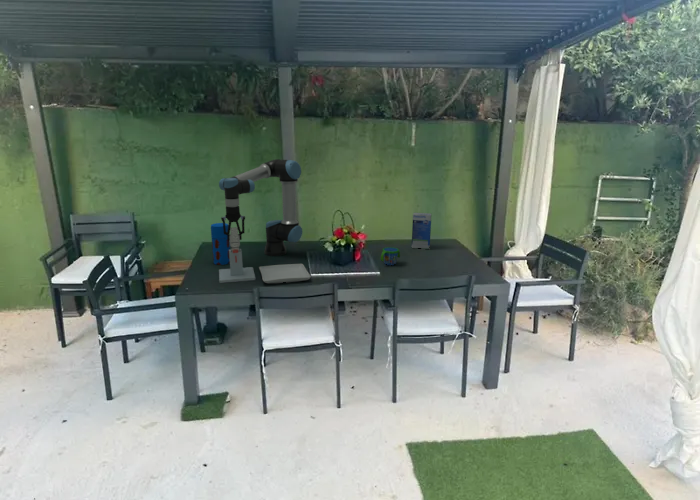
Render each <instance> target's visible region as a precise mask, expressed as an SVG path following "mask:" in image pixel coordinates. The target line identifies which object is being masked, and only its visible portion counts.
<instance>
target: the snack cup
mask: <svg viewBox="0 0 700 500" xmlns="http://www.w3.org/2000/svg"><path fill="white" fill-rule="evenodd" d="M400 257H401V252H400V249H399V248H397V247H393V246H389V247H383V248H382V252H381V255H380V261H382V262H384V264H385V265H386V264H387V265H386V266H391V265H392V266H395V265H394V264H396V265H397V260H398V258H400Z"/></svg>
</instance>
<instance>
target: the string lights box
mask: <svg viewBox="0 0 700 500" xmlns="http://www.w3.org/2000/svg"><path fill="white" fill-rule="evenodd" d="M411 227H412V229H411V231H412V232H411V247H412V248H429V247H430V246H431V231H432V230H431V229H432V213H429V212H427V213H426V212H413V213H412V226H411ZM429 249H430V248H429Z"/></svg>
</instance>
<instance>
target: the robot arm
mask: <svg viewBox="0 0 700 500" xmlns="http://www.w3.org/2000/svg"><path fill="white" fill-rule="evenodd" d="M301 175H302V168H301V165H300V163H298V162H297V160H293V159H292V160H291V159H279V158H277V159H273V160H269V161H266V162H264V163H261V164H259V166H257V167H255V168H252V169H250V170H247V171H245V172H243V173H242V172H241V173H239V174H237V175H234V176H231V177H224V178H221V179H219V182H218V187H219V189H220V190H221V191H224V198H225V199H224V200H225V215H224V216H221V217H220V219H221V221H222V223H223V230H224V234H225V235H227V239H228V241H230V247H231V232H230V228H232V227H231V226H232V223H235V224H236V227H237V228H238V242H239V247H240V246H241V241H242V239H243V238H242V235H243V234H245V220H246V216H245V215H241V212H240V211H241V210H240V196H239V195H243V194H249V193H252V192H254V191H255V187H256V184H255V182H257V181H260V180H262V179H269V178H279V182H280V184H281V192H282V196H281V197H282V215H283V216H282V218H283V219H274V220H273V219H272V220H269V221H267V222H266V223H265V237H266V238H265V239H266V244H265V247H264V252H263V253H264V255H266V256H268V257H269V256H270V257H278V256H283V255H286V254H287V247H286V245H285V242H289V243H297V242H299V241H300V240H301V238H302V236H303V227H302V226H301V225H299V224H300V223H299V221H298V220H297V205H296V204H297V201H296V200H297V199H296V197H297V196H296V183H298V179H299V178H300V177H301ZM240 219H241V227H240V224H239V220H240ZM226 220H227V221H228V231H227V232H226V228H225V223H226Z"/></svg>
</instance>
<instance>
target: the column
mask: <svg viewBox="0 0 700 500" xmlns="http://www.w3.org/2000/svg"><path fill="white" fill-rule="evenodd" d="M230 234H231V246H230V249H232V252H233V251H237V250H238V252H239V249H240V246H239V242H238V234H239V231H238V228H237V226H236V227H231V228H230Z"/></svg>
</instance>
